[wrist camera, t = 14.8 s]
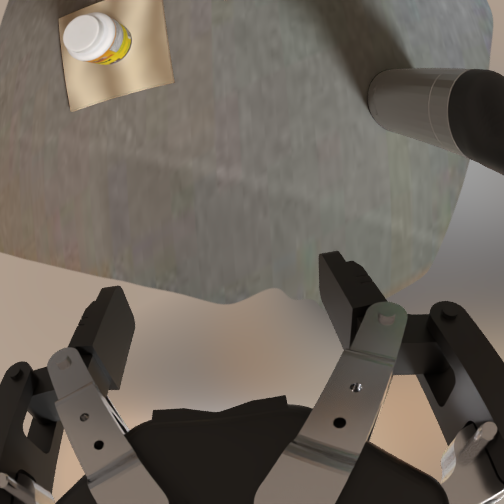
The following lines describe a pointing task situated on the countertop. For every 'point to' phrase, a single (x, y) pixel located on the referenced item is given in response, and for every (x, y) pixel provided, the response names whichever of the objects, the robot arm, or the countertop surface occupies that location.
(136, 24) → the oak board
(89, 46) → the supplement bottle
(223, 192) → the countertop surface
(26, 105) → the countertop surface
